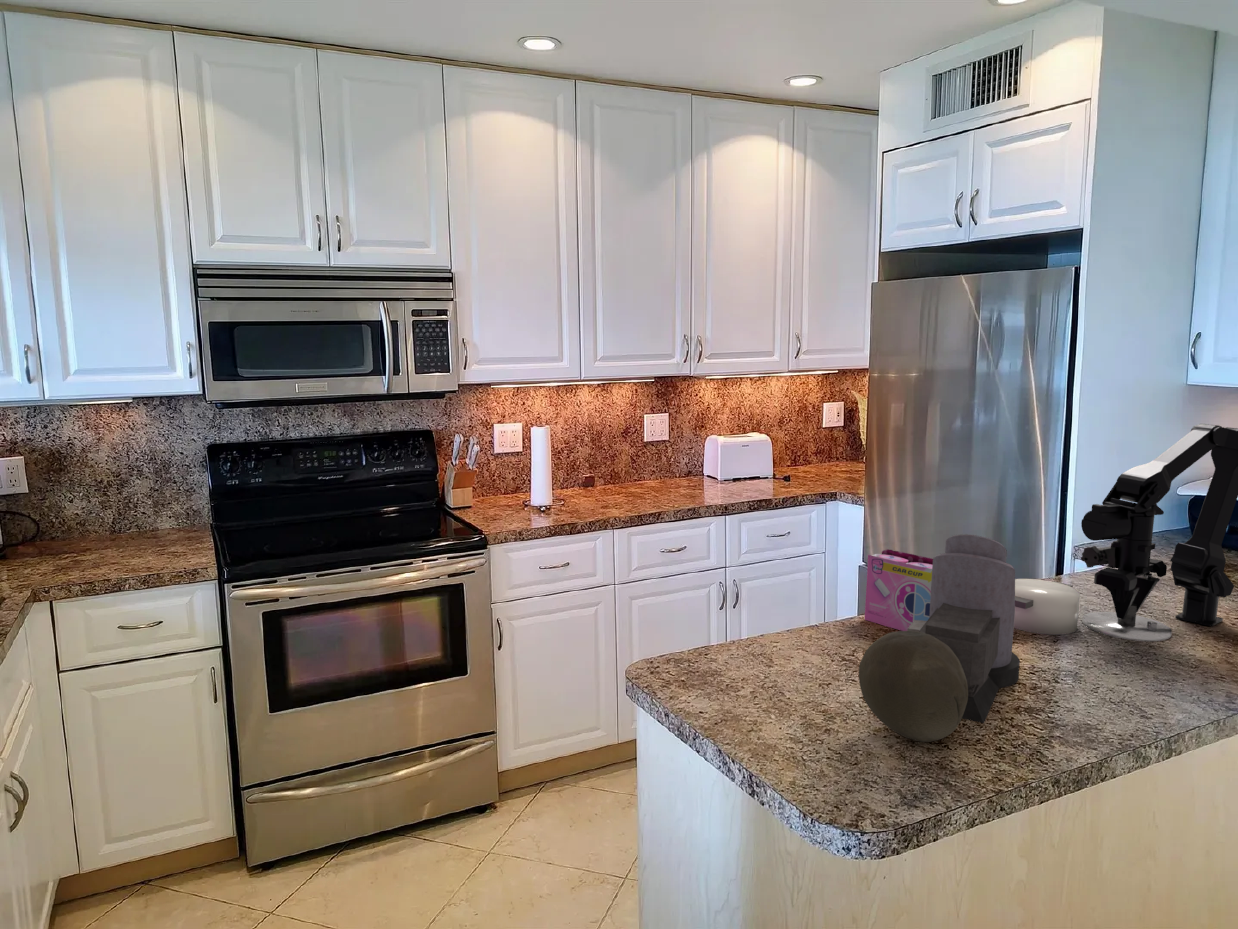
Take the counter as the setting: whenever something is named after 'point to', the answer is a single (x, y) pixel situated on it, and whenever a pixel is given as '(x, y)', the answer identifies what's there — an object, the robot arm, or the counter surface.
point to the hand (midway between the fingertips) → (1127, 615)
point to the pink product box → (898, 588)
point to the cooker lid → (1127, 626)
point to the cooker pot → (1046, 607)
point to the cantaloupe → (914, 685)
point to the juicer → (975, 616)
